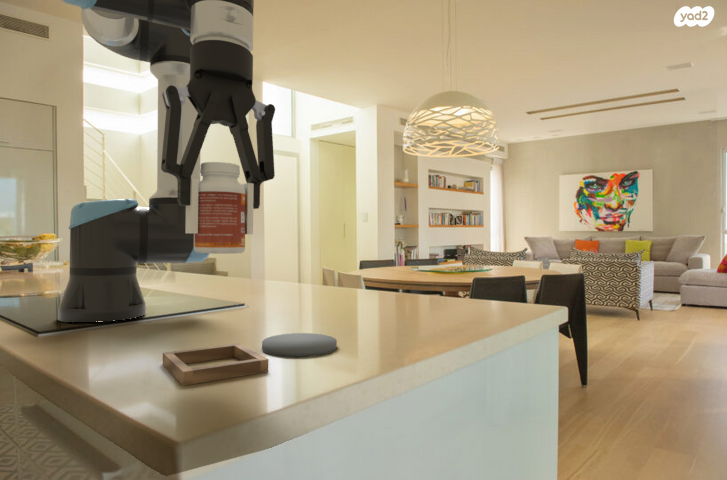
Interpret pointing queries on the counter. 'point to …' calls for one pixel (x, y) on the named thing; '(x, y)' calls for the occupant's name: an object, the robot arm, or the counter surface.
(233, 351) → the socket
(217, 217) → the pill bottle
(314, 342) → the disc
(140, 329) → the counter surface
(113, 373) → the counter surface
